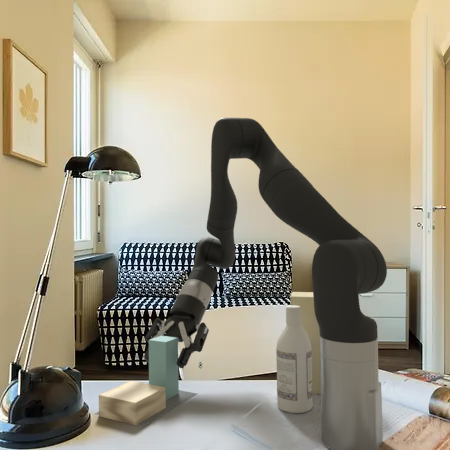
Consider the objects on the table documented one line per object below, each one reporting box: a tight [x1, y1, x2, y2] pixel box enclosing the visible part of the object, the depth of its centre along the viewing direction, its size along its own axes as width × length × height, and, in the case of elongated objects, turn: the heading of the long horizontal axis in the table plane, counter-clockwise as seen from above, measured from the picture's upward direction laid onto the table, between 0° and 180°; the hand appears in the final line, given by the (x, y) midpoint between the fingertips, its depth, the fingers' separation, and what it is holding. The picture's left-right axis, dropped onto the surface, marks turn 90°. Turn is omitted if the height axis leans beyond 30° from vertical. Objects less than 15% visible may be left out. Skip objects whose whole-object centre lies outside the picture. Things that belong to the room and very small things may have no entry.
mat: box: [94, 389, 198, 427], centre depth 87 cm, size 12×18×1 cm, turn 152°
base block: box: [98, 380, 166, 426], centre depth 83 cm, size 9×9×4 cm
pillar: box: [148, 335, 180, 400], centre depth 92 cm, size 4×4×12 cm
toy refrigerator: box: [289, 291, 321, 395], centre depth 96 cm, size 8×7×21 cm
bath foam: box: [275, 305, 314, 414], centre depth 85 cm, size 7×7×20 cm
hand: (163, 363), depth 91 cm, fingers open, 8 cm apart
